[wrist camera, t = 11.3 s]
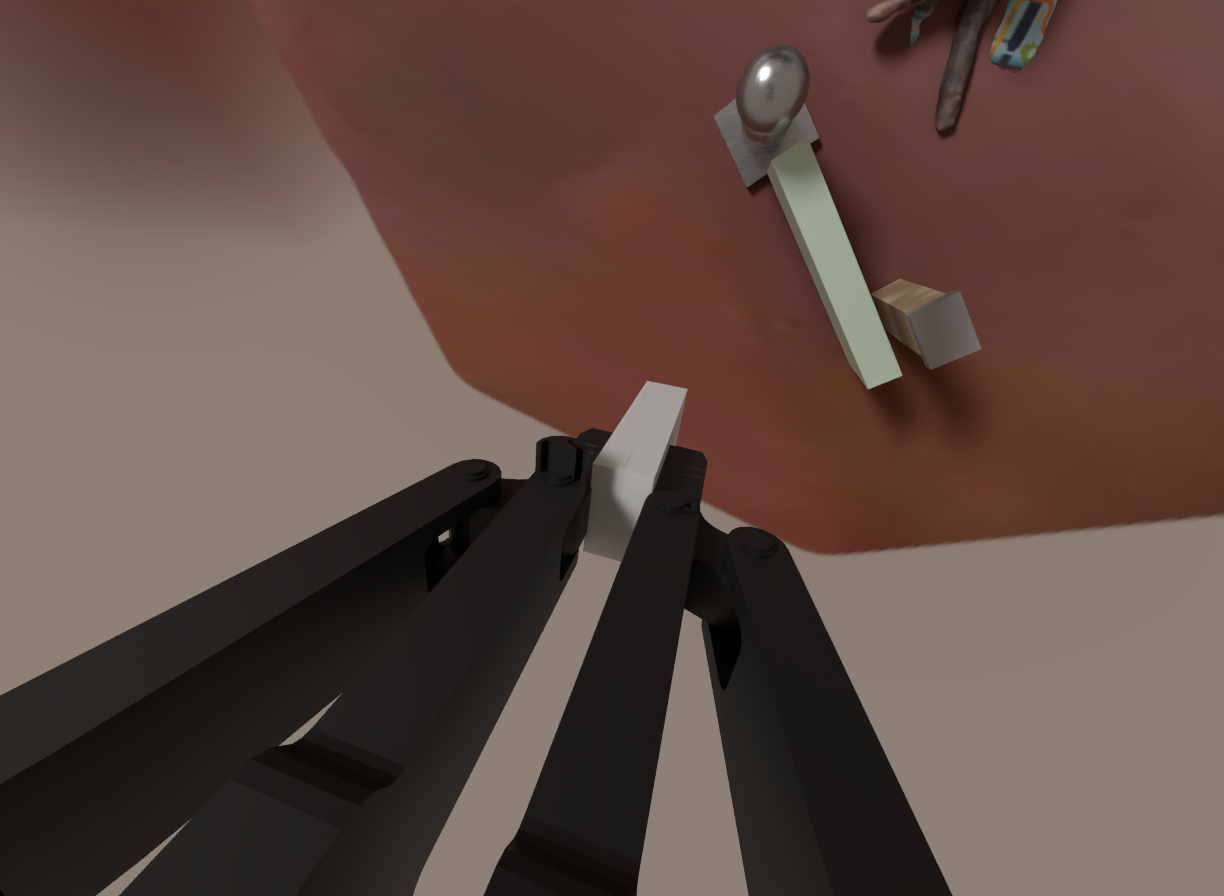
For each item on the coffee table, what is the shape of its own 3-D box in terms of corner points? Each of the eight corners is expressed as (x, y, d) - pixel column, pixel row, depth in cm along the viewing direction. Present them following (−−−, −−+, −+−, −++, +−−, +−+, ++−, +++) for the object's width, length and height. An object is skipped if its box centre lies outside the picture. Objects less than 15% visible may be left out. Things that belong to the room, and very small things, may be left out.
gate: (766, 172, 30) (771, 160, 25) (796, 153, 29) (807, 136, 24) (849, 364, 34) (868, 389, 28) (877, 352, 33) (902, 375, 27)
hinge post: (785, 61, 28) (805, -26, 18) (818, 138, 29) (852, 95, 20) (714, 118, 30) (698, 66, 21) (746, 188, 31) (746, 170, 22)
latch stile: (902, 274, 31) (960, 291, 23) (919, 317, 32) (981, 348, 23) (866, 293, 32) (908, 315, 24) (883, 333, 33) (930, 369, 24)
